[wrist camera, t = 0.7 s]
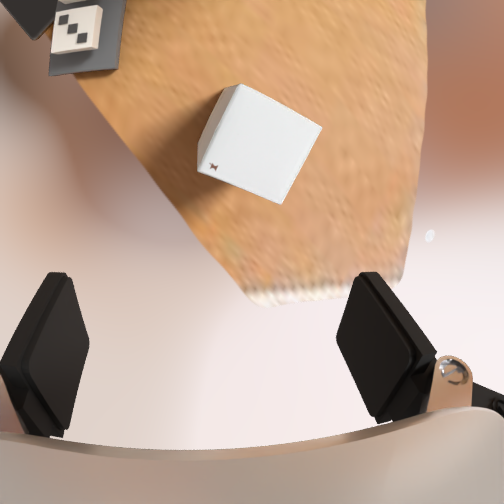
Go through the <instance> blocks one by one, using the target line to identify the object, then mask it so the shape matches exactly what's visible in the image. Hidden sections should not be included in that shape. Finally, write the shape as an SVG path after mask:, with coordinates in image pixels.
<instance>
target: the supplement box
mask: <svg viewBox="0 0 504 504" xmlns="http://www.w3.org/2000/svg"><path fill="white" fill-rule="evenodd" d="M321 130H322V127H321V126H319V125H318V124H316V123H314V122H313V121H311V120H309V119H307V118H306V117H304V116H302V115H300V114H299V113H297V112H295V111H293V110H292V109H290V108H288V107H286V106H284V105H283V104H281V103H279V102H277V101H275V100H273V99H271V98H270V97H268V96H266V95H264V94H262V93H260V92H258V91H256V90H254V89H252V88H250V87H248V86H246V85H244V84H238V85H234V86H230V87H226V88H224V90H223V92H222V93H221V95H220V97H219V99H218V101H217V103H216V105H215V107H214V109H213V111H212V113H211V115H210V117H209V119H208V121H207V124H206V126H205V128H204V130H203V133H202V135H201V137H200V139H199V142H198V155H197V171H198V172H200V173H202V174H205V175H208V176H210V177H213V178H215V179H218V180H221V181H223V182H226V183H228V184H231V185H234V186H236V187H239V188H241V189H244V190H246V191H249V192H251V193H254V194H256V195H258V196H261V197H263V198H265V199H268V200H270V201H272V202H275V203H277V204H282V202H283V200H284V198H285V197H286V195H287V193H288V191H289V189H290V188H291V186H292V184H293V182H294V180H295V178H296V176H297V174H298V173H299V171H300V169H301V167H302V165H303V163H304V161H305V160H306V158H307V156H308V154H309V152H310V150H311V148H312V146H313V144H314V143H315V141H316V139H317V137H318V135H319V133H320V131H321Z"/></svg>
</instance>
